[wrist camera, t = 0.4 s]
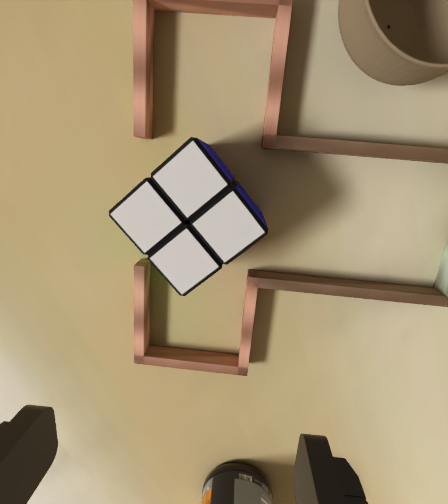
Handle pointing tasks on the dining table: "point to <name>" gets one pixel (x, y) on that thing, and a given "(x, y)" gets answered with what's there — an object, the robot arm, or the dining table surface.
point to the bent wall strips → (268, 6)
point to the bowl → (396, 38)
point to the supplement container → (236, 486)
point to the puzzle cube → (190, 216)
